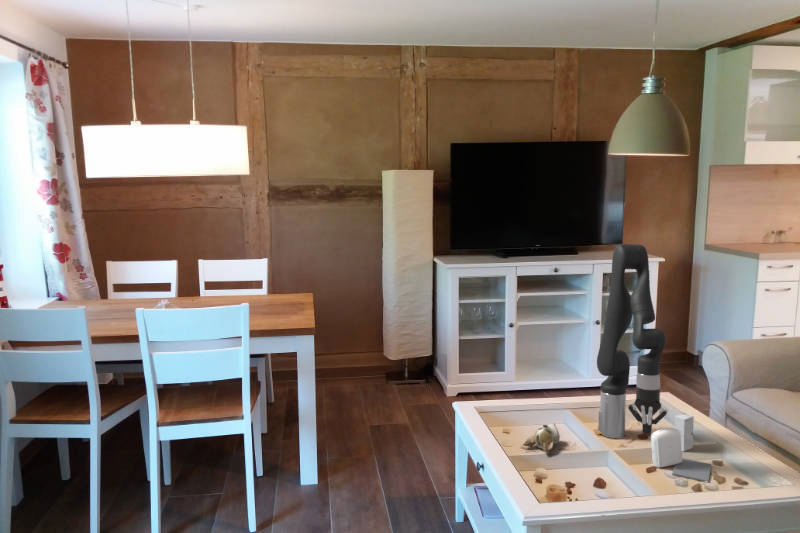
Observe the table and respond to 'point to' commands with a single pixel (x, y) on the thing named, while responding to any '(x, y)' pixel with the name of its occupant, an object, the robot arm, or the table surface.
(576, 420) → the table surface
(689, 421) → the skincare box
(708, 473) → the mat
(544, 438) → the ceramic sculpture
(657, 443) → the photo printer
